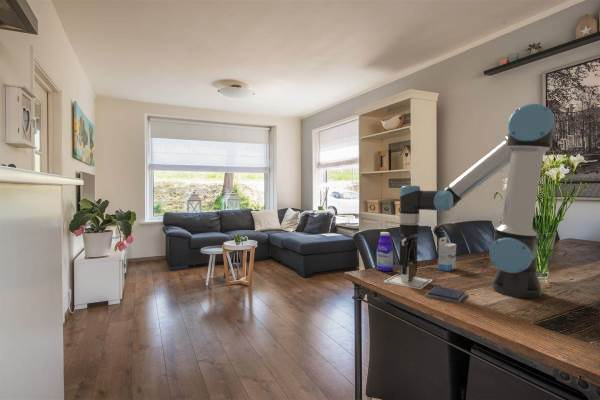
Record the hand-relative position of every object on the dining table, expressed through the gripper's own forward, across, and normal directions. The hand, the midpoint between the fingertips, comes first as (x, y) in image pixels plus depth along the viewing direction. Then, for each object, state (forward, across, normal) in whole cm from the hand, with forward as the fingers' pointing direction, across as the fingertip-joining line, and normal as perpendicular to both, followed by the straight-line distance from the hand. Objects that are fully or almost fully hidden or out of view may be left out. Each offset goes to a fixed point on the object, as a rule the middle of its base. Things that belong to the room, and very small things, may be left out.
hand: (408, 279), depth 135 cm
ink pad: (+1, +9, +17) cm, 19 cm away
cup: (+1, 0, 0) cm, 1 cm away
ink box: (+1, -31, +7) cm, 32 cm away
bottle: (+1, -11, -15) cm, 19 cm away
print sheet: (+1, 0, 0) cm, 1 cm away
